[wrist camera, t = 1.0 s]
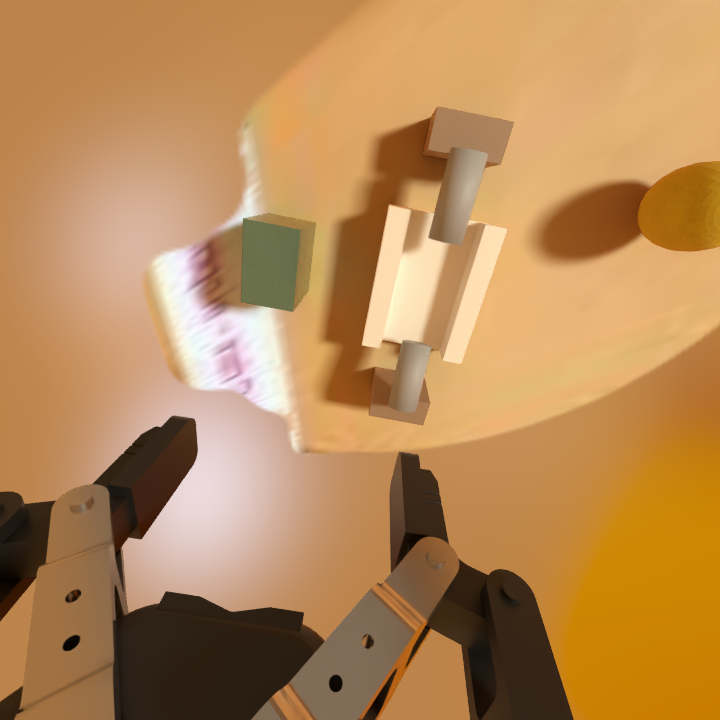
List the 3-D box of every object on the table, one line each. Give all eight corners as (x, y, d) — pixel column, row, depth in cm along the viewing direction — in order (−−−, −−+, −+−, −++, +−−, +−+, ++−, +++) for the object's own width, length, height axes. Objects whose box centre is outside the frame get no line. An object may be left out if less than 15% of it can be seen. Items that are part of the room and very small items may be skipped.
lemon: (673, 245, 28) (771, 263, 21) (604, 240, 29) (678, 257, 21) (707, 167, 26) (830, 159, 19) (631, 162, 26) (725, 152, 19)
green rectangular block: (269, 213, 29) (243, 218, 24) (316, 222, 29) (300, 229, 24) (265, 283, 32) (241, 301, 27) (308, 291, 32) (293, 311, 27)
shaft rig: (406, 112, 26) (414, 86, 19) (520, 135, 26) (567, 117, 19) (353, 384, 36) (346, 427, 29) (435, 399, 36) (446, 445, 30)
